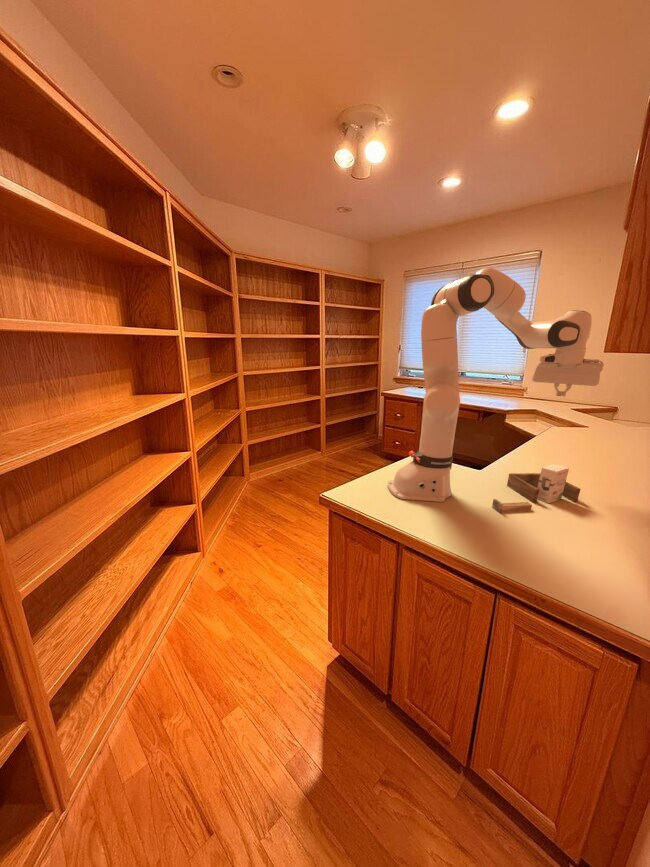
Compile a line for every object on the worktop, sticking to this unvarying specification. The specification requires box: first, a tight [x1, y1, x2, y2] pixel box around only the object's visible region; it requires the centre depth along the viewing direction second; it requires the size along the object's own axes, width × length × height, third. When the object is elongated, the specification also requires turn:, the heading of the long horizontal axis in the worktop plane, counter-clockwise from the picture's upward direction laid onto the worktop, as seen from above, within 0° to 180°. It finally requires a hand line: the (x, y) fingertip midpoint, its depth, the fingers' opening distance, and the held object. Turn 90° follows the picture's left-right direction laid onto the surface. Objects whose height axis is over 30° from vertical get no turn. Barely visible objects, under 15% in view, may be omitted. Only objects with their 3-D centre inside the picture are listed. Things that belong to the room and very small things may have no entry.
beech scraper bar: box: [491, 498, 533, 514], centre depth 105 cm, size 4×12×3 cm, turn 98°
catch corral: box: [506, 472, 581, 504], centre depth 118 cm, size 16×14×5 cm
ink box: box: [537, 463, 570, 504], centre depth 113 cm, size 9×5×12 cm, turn 120°
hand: (560, 396), depth 122 cm, fingers closed
